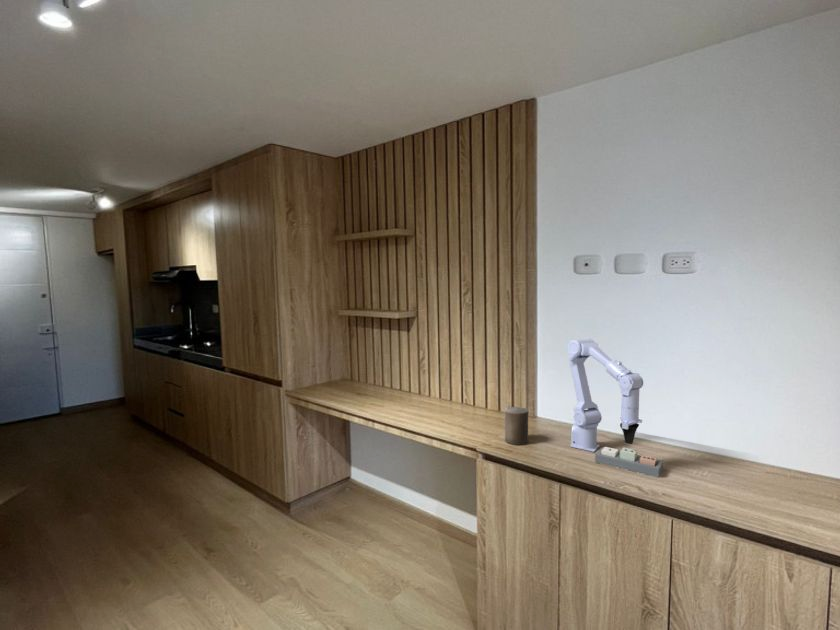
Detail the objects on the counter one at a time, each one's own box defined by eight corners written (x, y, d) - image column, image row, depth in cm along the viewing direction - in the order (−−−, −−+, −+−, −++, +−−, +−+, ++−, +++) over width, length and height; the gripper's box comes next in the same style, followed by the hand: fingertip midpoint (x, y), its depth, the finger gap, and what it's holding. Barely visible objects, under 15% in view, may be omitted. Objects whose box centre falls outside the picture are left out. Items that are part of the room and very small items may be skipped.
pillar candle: (528, 446, 178) (529, 410, 177) (504, 444, 180) (504, 409, 178) (527, 437, 187) (528, 404, 186) (504, 436, 189) (504, 402, 188)
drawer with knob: (601, 460, 162) (601, 450, 162) (604, 456, 166) (604, 446, 165) (614, 464, 159) (615, 453, 159) (618, 459, 163) (618, 449, 162)
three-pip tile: (639, 469, 154) (639, 458, 154) (642, 465, 158) (642, 454, 157) (654, 473, 151) (654, 461, 151) (656, 468, 155) (657, 457, 155)
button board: (595, 462, 161) (595, 454, 161) (601, 454, 168) (602, 447, 168) (658, 477, 148) (658, 469, 148) (662, 468, 156) (663, 460, 155)
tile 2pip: (619, 462, 158) (620, 450, 158) (622, 457, 162) (623, 446, 161) (634, 465, 155) (634, 453, 155) (637, 460, 159) (637, 449, 158)
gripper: (637, 413, 149) (636, 451, 150) (646, 404, 160) (645, 439, 161) (616, 409, 153) (615, 447, 154) (625, 401, 164) (624, 435, 165)
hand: (629, 443), depth 158 cm, fingers closed
